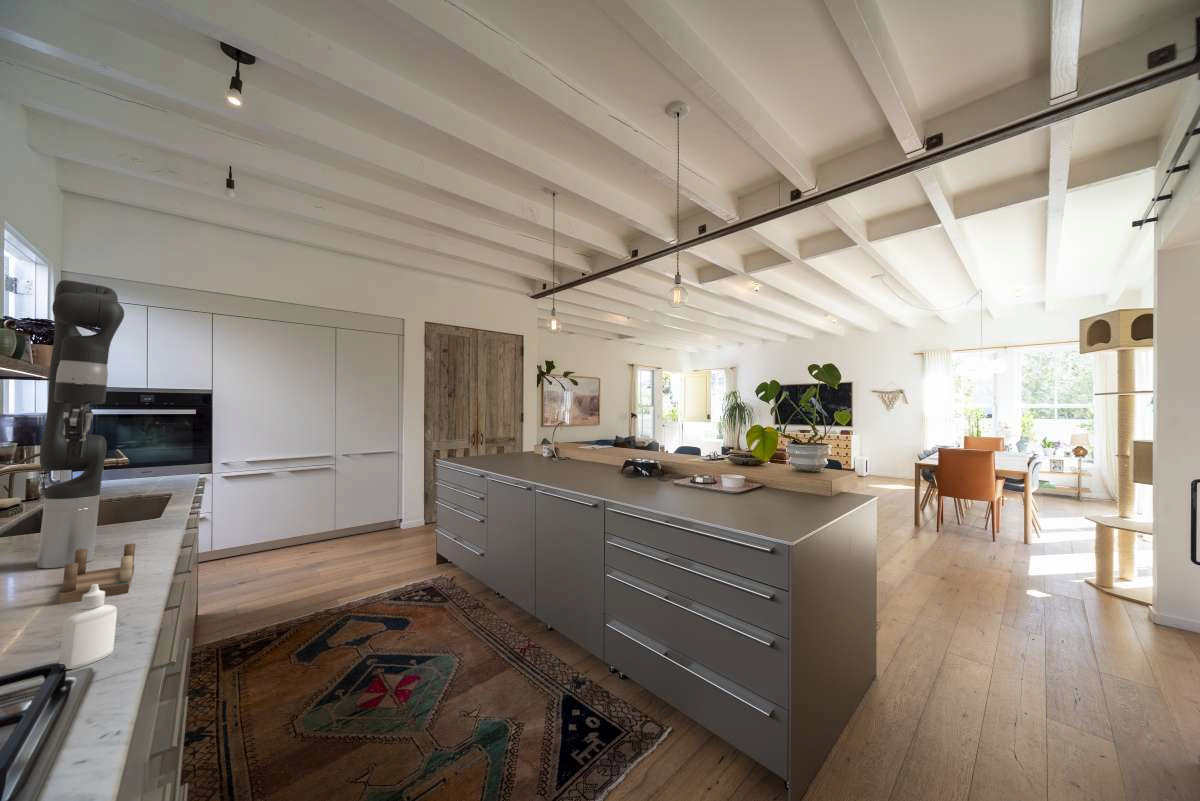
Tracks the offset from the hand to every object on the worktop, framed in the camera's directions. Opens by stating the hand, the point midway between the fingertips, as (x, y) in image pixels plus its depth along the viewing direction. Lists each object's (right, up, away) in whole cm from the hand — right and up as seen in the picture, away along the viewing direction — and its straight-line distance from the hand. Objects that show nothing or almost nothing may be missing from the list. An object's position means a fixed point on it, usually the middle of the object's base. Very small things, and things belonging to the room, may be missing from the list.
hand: (73, 458), depth 97 cm
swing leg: (+10, -27, +1) cm, 29 cm away
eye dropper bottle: (+37, -29, -29) cm, 55 cm away
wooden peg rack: (+6, -29, 0) cm, 30 cm away
